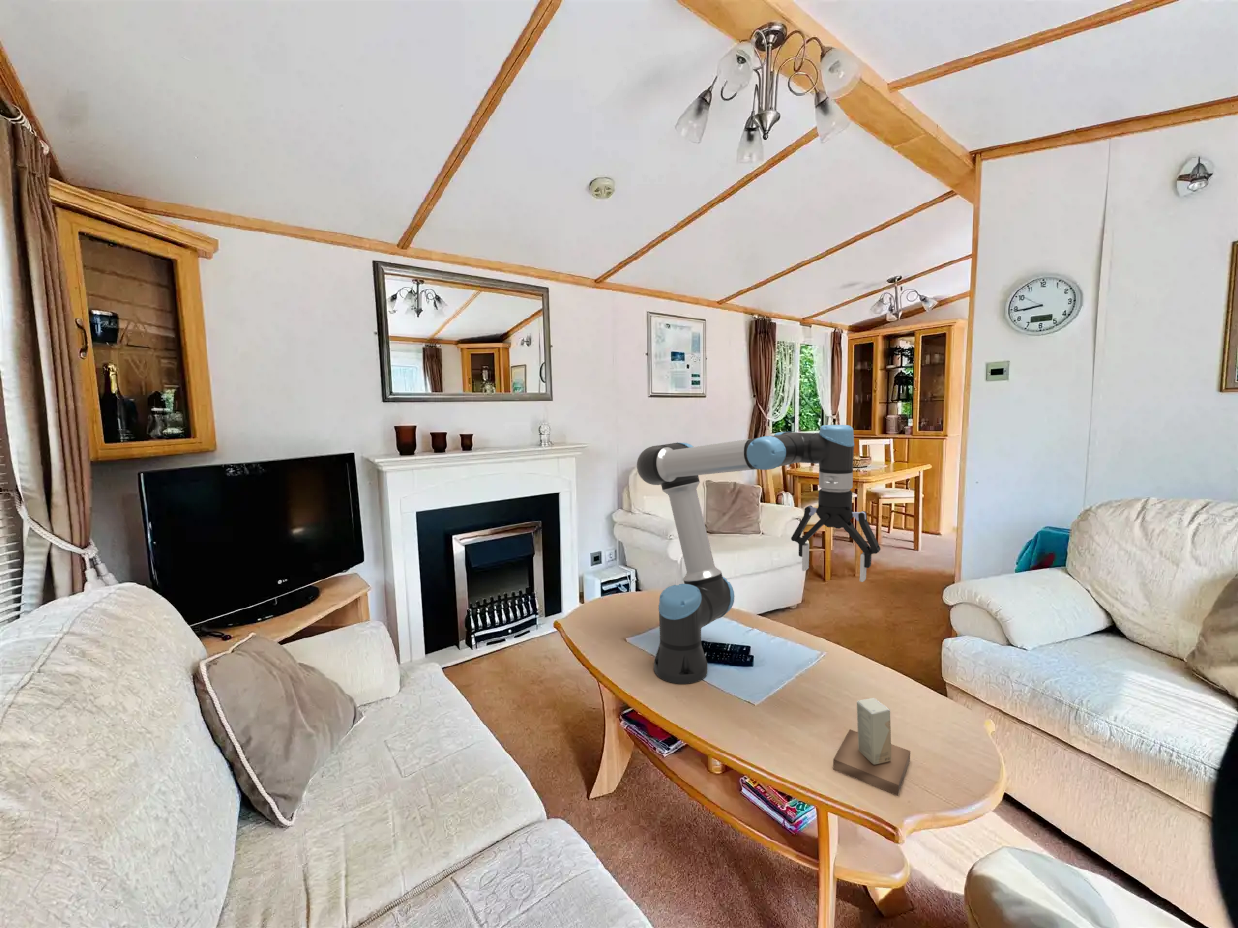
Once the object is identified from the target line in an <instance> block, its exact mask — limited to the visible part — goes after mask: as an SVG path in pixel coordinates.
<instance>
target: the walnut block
mask: <svg viewBox="0 0 1238 928" xmlns="http://www.w3.org/2000/svg"><path fill="white" fill-rule="evenodd" d="M832 761H833V766H832V769H833V770H834V771H837V772H838V773H840V774H841V773H842V774H844V775H846V776H848V777H851V778H853V779H856V780H858V781H861V782H863V783H865V784H868V785H870V786H872V787H873V786H874V787H875V788H878V789H880V790H883V791H886V792H888V793H890V794H893V795H895V796H897V797H898V796H899V793H900V791H901V789H902V787H903V782H904V779H905V776H906V775H907V771H908V768H909V766H910V765H909V764H910V763H911V750H909V749H905V748H903V747H900V746H897V745H895V744H892V743H891V761H888V762H884V763H880V764H875V765H874V764H872V763H871V762H870V761H869V760H868V759H867V758H866V757H865V756H864V755H863V754H862V753H861V752H860V751H859V750H858V731H857V730H854V729H849V730H848V732H847V733H846V735H845V737H844V739H843V741H842V743H841V745H840V746H839V748H838V750H837V752H836V754H835V755H834V757H833V760H832Z"/></svg>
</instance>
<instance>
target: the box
mask: <svg viewBox="0 0 1238 928" xmlns="http://www.w3.org/2000/svg"><path fill="white" fill-rule="evenodd" d="M856 716H857V717H856V718H857V723H856V724H857V732H858V750H859V751H860V752H861V753H862V754H863V755H864V756H865V757H866V758H867V759H868V760H869V761H870V762H871V763H872V764H874V765H875V764H880V763H884V762H888V761H891V744H892V734H891V710H890V708H888V707H887V706H886V705H885V704H884V703H882V702H881V701H879V700H878V699H877V698H876V697H870V698H864V699H859V700H856Z"/></svg>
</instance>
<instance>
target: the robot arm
mask: <svg viewBox="0 0 1238 928" xmlns="http://www.w3.org/2000/svg"><path fill="white" fill-rule="evenodd" d="M854 434H855V433H854V428H853V427H852V426H851V425H849V424H825V425H821V426H820V428H819V431H818V432H793V431H782V432H781V431H780V432H776V433H775V434H774V435H765V436H759V437H754V438H747V439H740V440H733V441H726V442H720V443H713V444H705V445H698V446H693V445H692V444H690V443H687V442H678V441H676V442H673V443H666V444H659V445H658V444H657V445H652V446H649V447H647V448H645V449H644V450H643V451H642V452H641V453H640V454H639V456H638V458H637V460H636V470H637V472H638V473H637V474H638V475H639V477H640V478H641V479H642V481H644V482H645V483H647V484H649V485H653V486H659V485H660V486H661V490H662V492H664V493H665V494H667V496H668V497H669V498H668V499H669V502H670V506H671V510H672V515H673V519H674V523H675V528H676V532H677V535H678V540H679V544H680V548H681V553H682V557H683V558H682V559H683V562H684V565H685V569H686V574H685V575H684V577H683V583H679V584H678V585H677V584H673V585H671V586H668V587H666V588H665V589H664V590H662V591H661V593H660V595H659V602H658V619H659V645H658V648H657V650H656V654H655V658H654V661H653V671H654V674H655V675H656V676H657V677H658V678H660V679H661V680H663V681H665V682H669V683H672V684H676V685H677V684H681V685H682V684H683V685H686V684H687V685H688V684H693V683H697V682H700V681H701V680H703V679H704V678H706V677H707V675H708V672H709V670H708V666H709V665H708V660H707V658H706V654H705V652H704V649H703V646H702V628H705V627H706V626H707V625H709V624H711V623H712V622H715V621H717V620H719V619H721V618H722V617H724V616H725V615H726V614H727V613H729V612H730V611H731V610H732V608H733V606H734V603H735V591H734V588H733V585H732V583H731V582H730V581H728V579H727V578H725V577H724V576H723V573H722V570H720V569H719V568H717V567H716V566H715V565H716V564H715V561H714V557H713V553H712V549H711V545H710V540H709V536H708V532H707V528H706V524H705V521H704V520H705V519H704V516H703V511H702V507H701V503H700V498H699V495H698V491H697V488H698V486H699V485H700V483H701V482H700V476H703V475H711V474H713V475H714V474H721V473H734V472H742V471H752V470H753V471H755V470H760V471H761V470H762V471H765V470H766V471H767V470H773V469H776V468H778V467H779V468H780V467H784V466H788V465H791V464H792V465H793V464H797V463H801V464H815V465H816V464H818V467H819V469H818V487H819V488H820V489H818V504H817V505H818V506H817V507H813V505H811V504H810V505H808V506H806V507H805V508H804V511H803V516H802V518H801V520H800V521H799V523H798V524H797V527H796V529H795V531H794V532H793V534H792V536H791V538H790V539H791V541H792V542H795V543H797V544H798V556H799V557H800V558H802V559H801V571H802V572H806V571H807V570H808V569H809V568H810V567H809V566H810V564H809V563H810V561H809V560H810V543H808V542H807V541H808V540H809V539H811V538H812V536H814V535H815V534H816V533H817V532H818V531H819V530H820V529H821V528H822V527H823V526H825V527H826V528H834V529H837V530H840V529H844V531H846V532H847V534H848V535H849V536H850V537H851V538H852V540H853V541H854V543H856V545H857V546H858V547H859V548H860V550H861V551H862V553H860V558H859V559H860V560H859V582H861V583H863V582H865V581H866V580H867V569H869V568H870V567H871V566H872V555H874V554H878V553H879V552H880V551H881V546H880V544H879V542H878V540H877V538H876V536H875V533H874V532H873V530H872V528H871V526H870V523H869V521H868V517H867V516H868V515H867V511H865V510H862V511H853V491H852V490H851V489H853V488H854V487H853V486H854V484H853V483H854V482H853V481H854V453H855V452H854V450H855V436H854ZM815 514H816V515H817V517H818V518H819V520H818V521H817V522H816V523H815V524H814V525H813V526H812V527H811V528H810V529H809V530H808V531H807V532H806V533H805V534H804V535H803V536H801V535H802V534H803V532H804V530H805V529H806V527H807V525H808V523H809V521H810V519H811V518H812V517H813V516H814V515H815ZM853 518H855V520H856V522H858V524H859V526H860V528H861V531H862V532H863V534H864V537H865V539H866V540H865V539H864V537H863V536H862V535H861V534H860V533H859V531H858V529H856V528H855V525H854V523H852V519H853Z"/></svg>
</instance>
